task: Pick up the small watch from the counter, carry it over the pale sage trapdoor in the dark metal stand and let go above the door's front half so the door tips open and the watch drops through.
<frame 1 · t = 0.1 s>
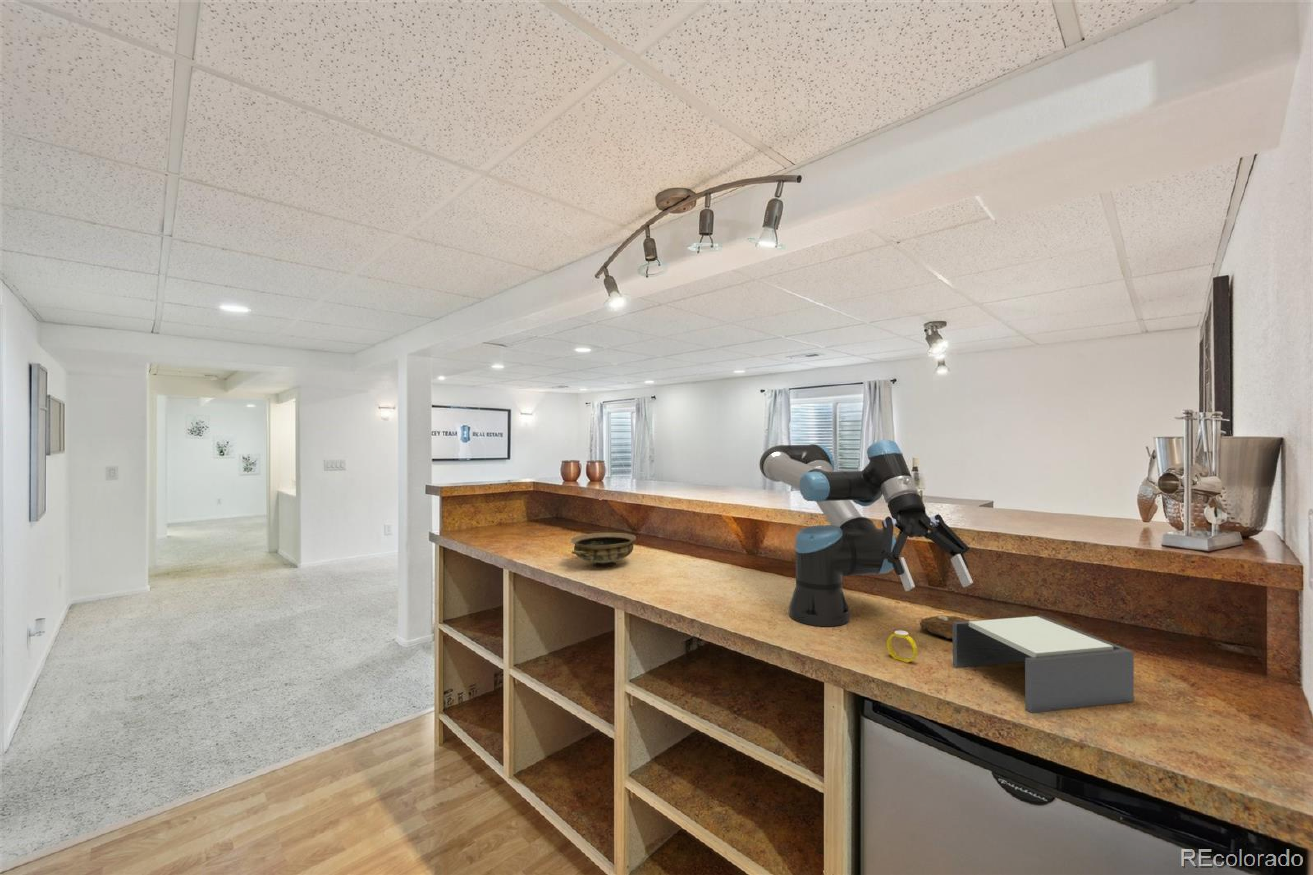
hand: (939, 587, 114), 15 cm above the counter, tool tilted 35°, fingers open, 13 cm apart
trapdoor: (1036, 635, 103), point 9 cm above the counter, hinge at 0.0°
ceramic bowl: (603, 565, 198), on the counter
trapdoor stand: (1036, 682, 103), on the counter
decorative rock: (956, 637, 127), on the counter
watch: (901, 660, 114), on the counter
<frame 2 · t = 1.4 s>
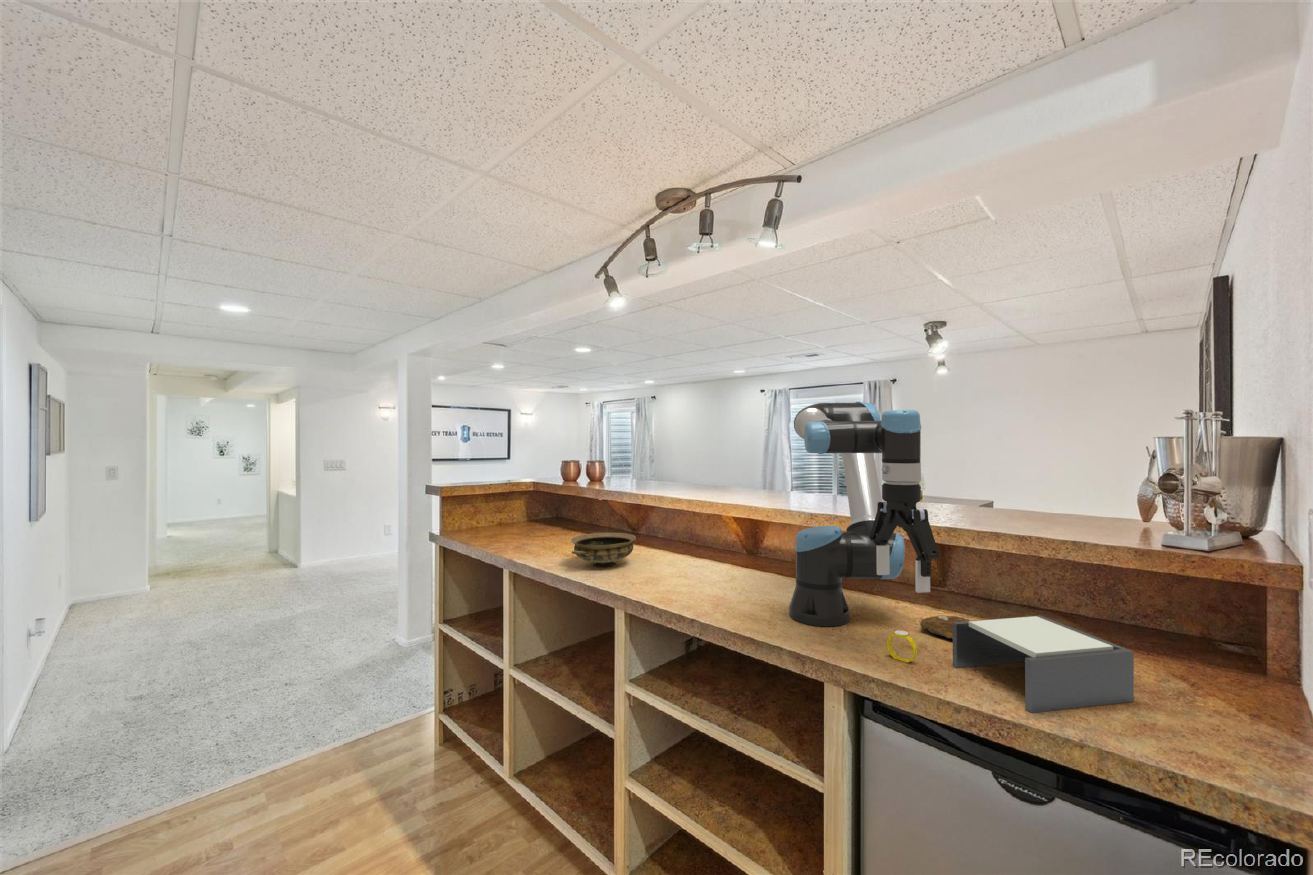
hand: (901, 582, 114), 16 cm above the counter, tool pointing down, fingers open, 13 cm apart
nothing on the counter moved.
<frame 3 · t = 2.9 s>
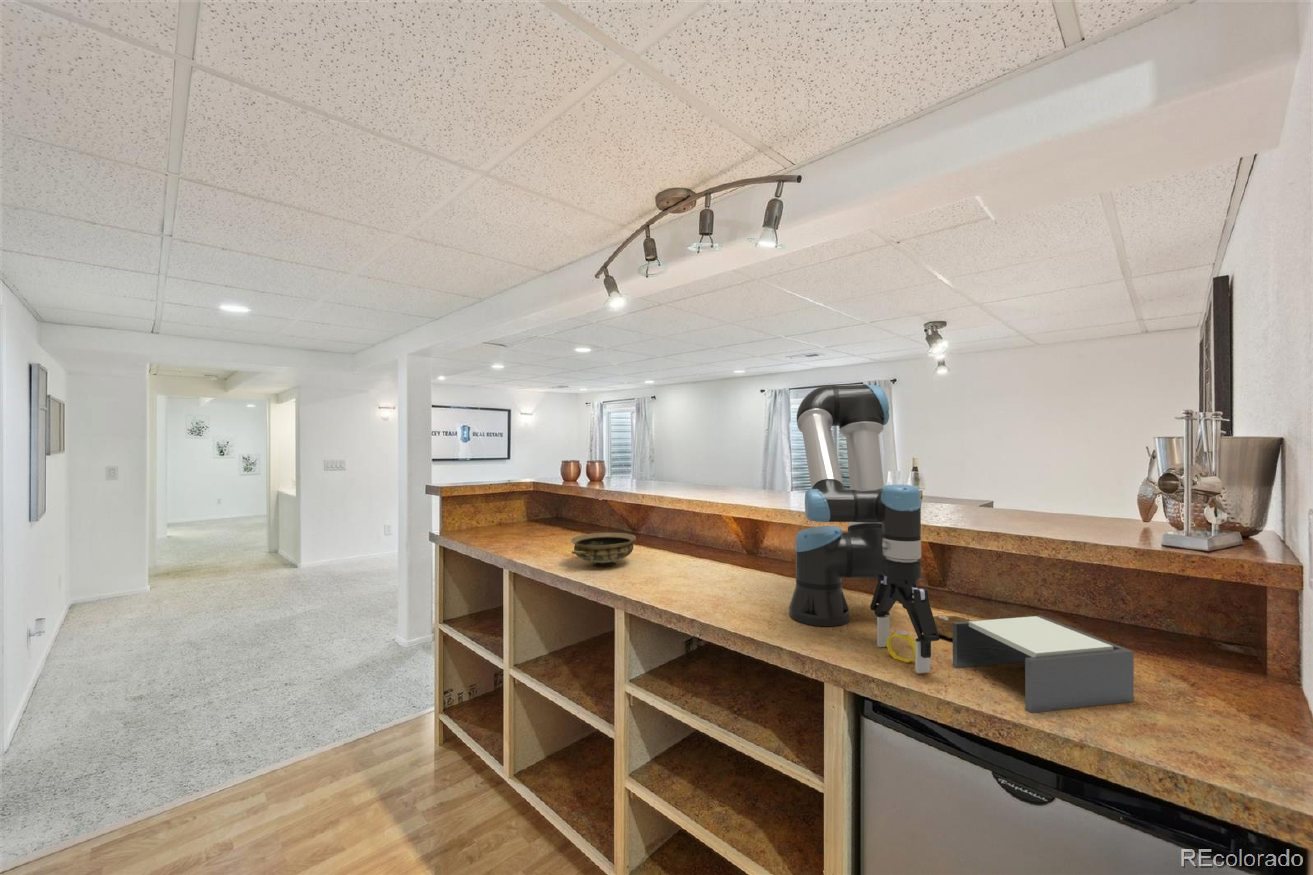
hand: (902, 658, 114), 0 cm above the counter, tool pointing down, fingers open, 13 cm apart
nothing on the counter moved.
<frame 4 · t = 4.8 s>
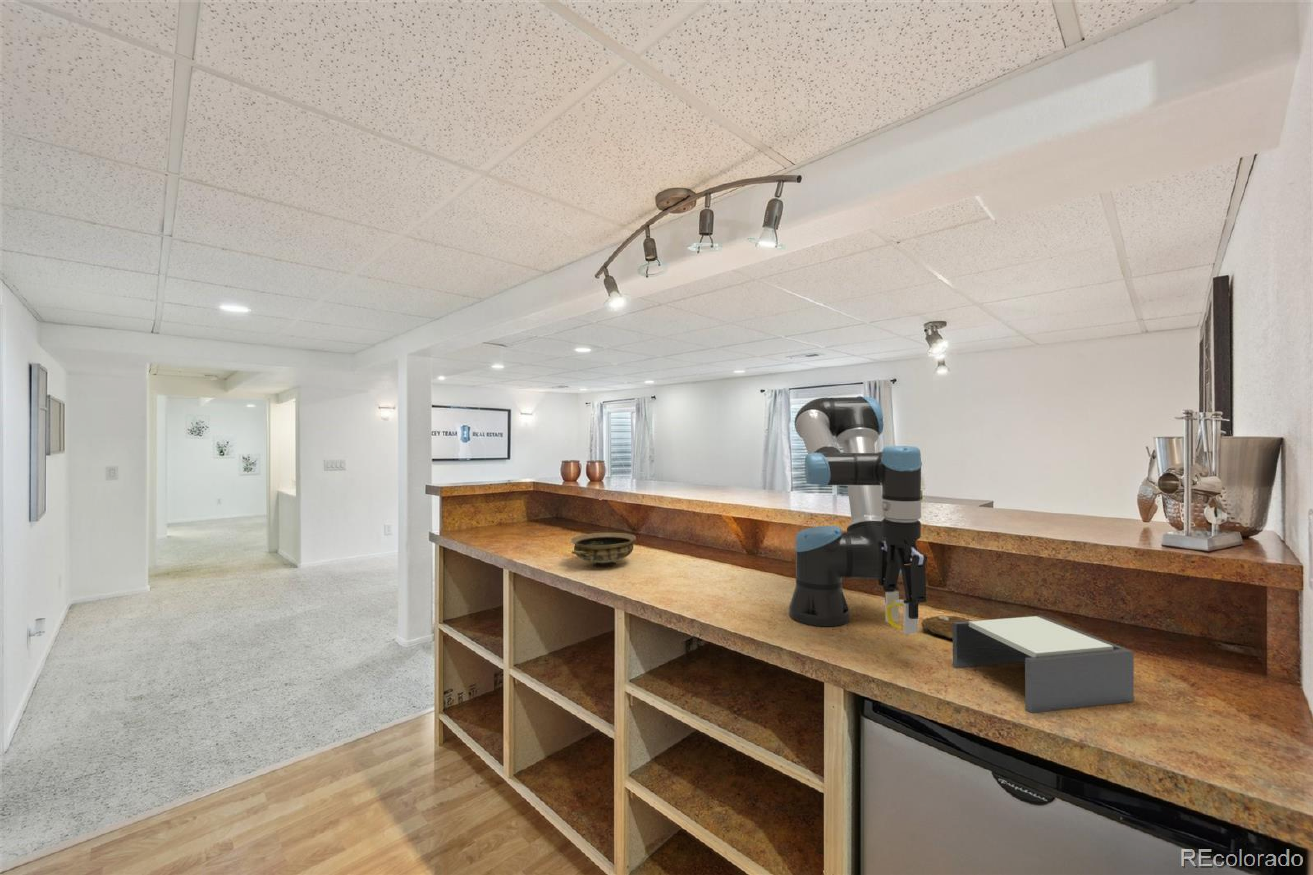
hand: (901, 626, 114), 7 cm above the counter, tool pointing down, fingers closed on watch, 6 cm apart
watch: (901, 629, 114), point 6 cm above the counter, touching gripper
everything else where it was.
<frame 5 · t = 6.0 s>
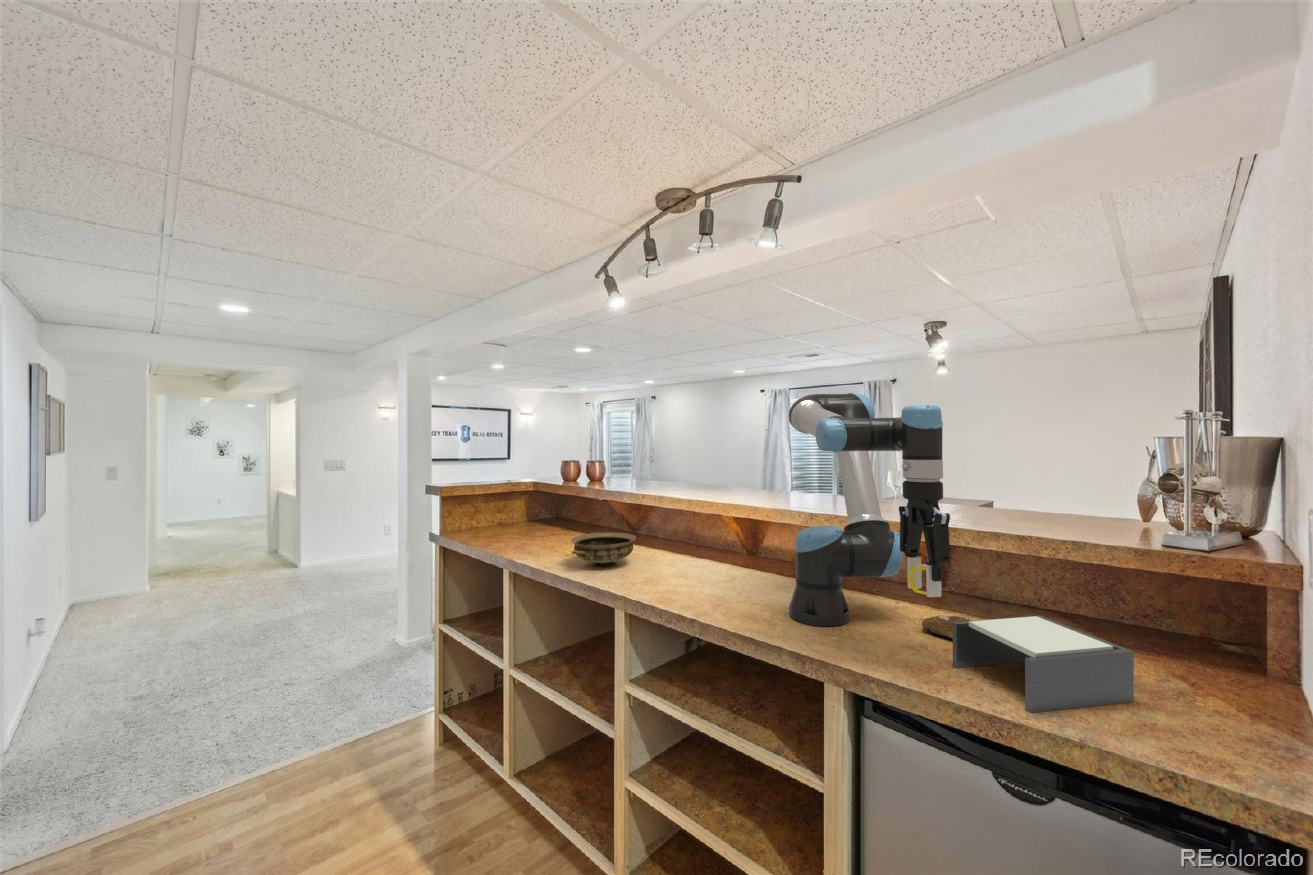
hand: (924, 591, 111), 15 cm above the counter, tool pointing down, fingers closed on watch, 6 cm apart
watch: (924, 594, 111), point 15 cm above the counter, touching gripper
everything else where it was.
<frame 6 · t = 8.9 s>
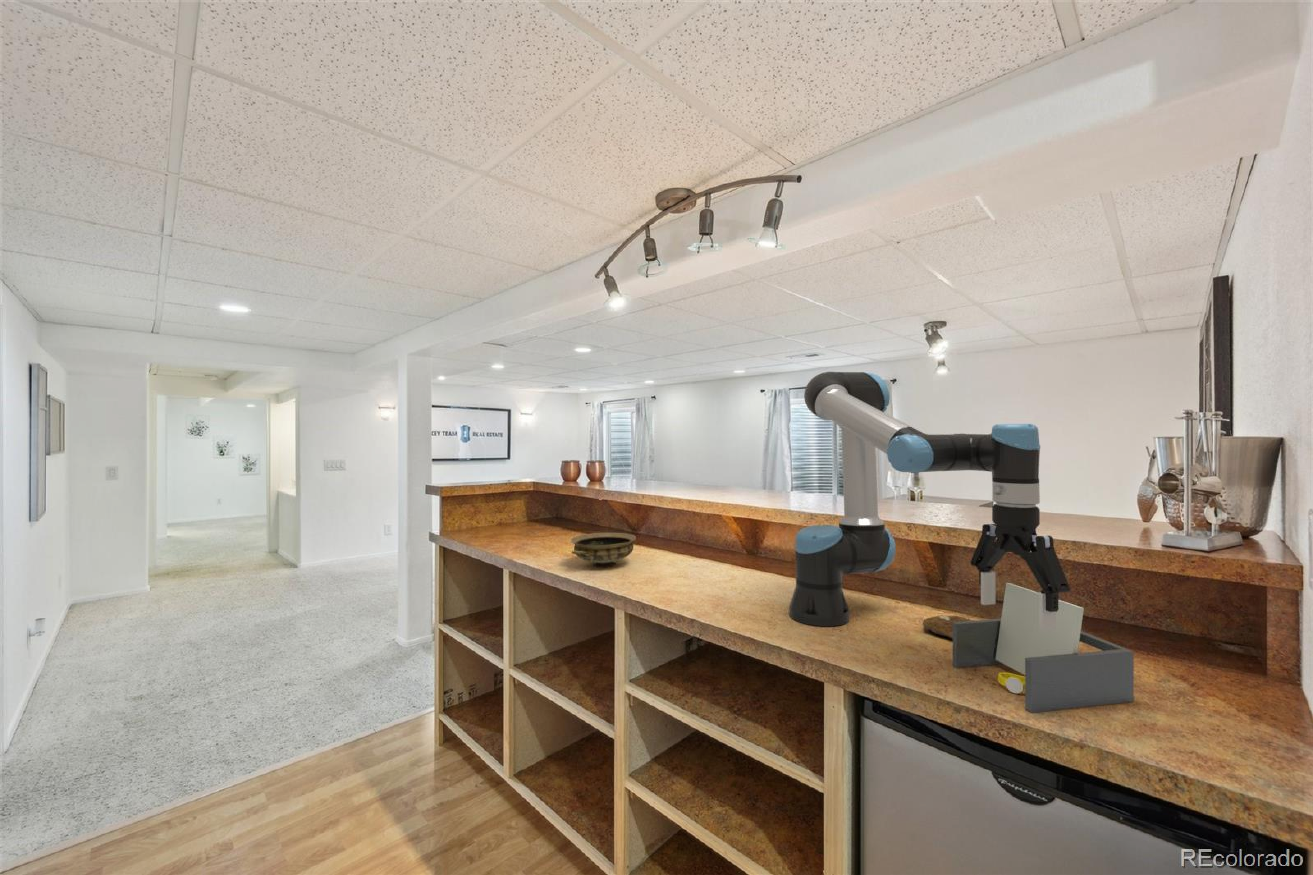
hand: (1015, 615, 102), 13 cm above the counter, tool pointing down, fingers open, 13 cm apart
trapdoor: (1036, 635, 103), point 9 cm above the counter, hinge at 80.4°, touching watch
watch: (1018, 678, 103), point 1 cm above the counter, touching trapdoor
everything else where it was.
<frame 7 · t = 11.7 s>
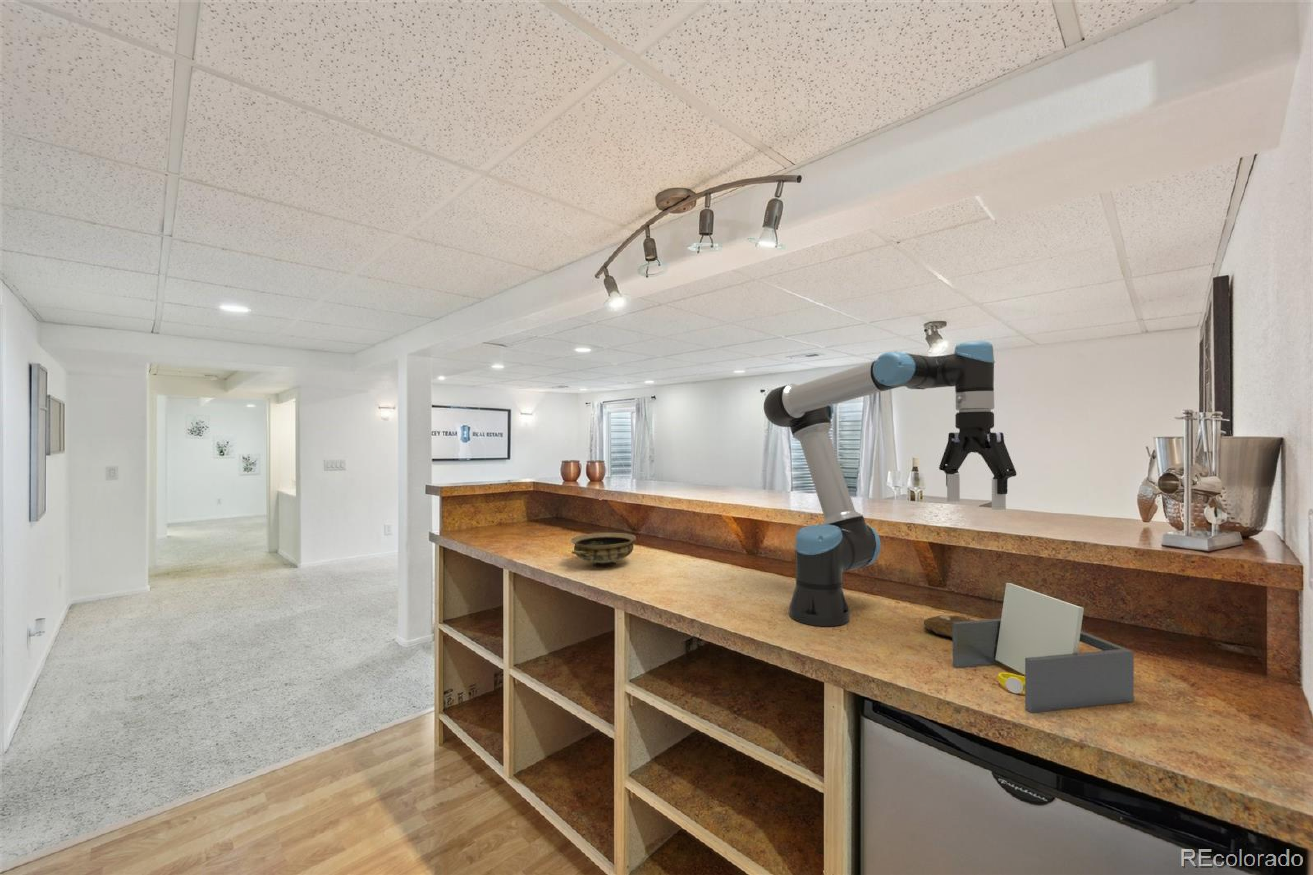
hand: (974, 505, 121), 32 cm above the counter, tool pointing down, fingers open, 13 cm apart
nothing on the counter moved.
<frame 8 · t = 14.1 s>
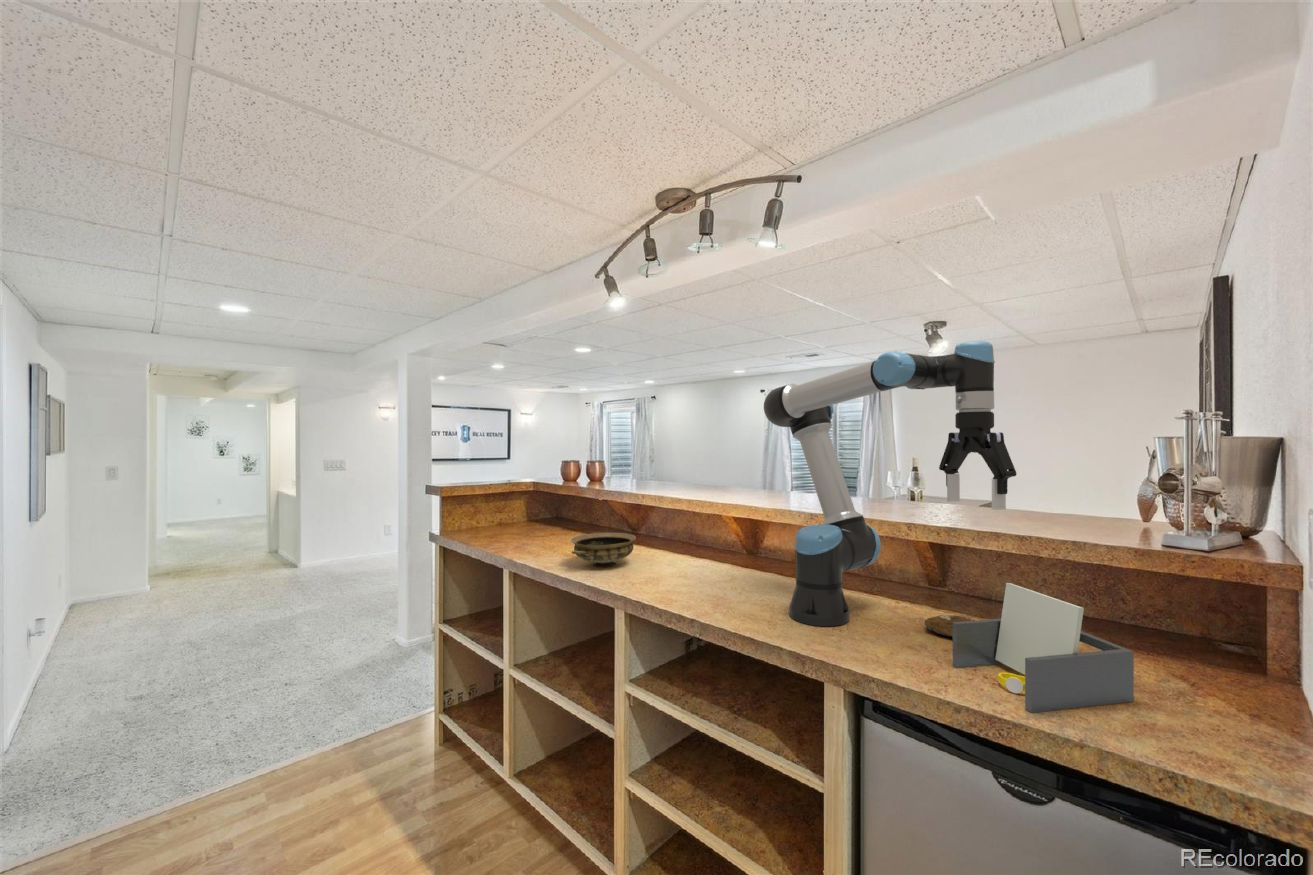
hand: (974, 505, 121), 32 cm above the counter, tool pointing down, fingers open, 13 cm apart
at the end: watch point 0.7 cm above the counter; the gripper is holding nothing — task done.
